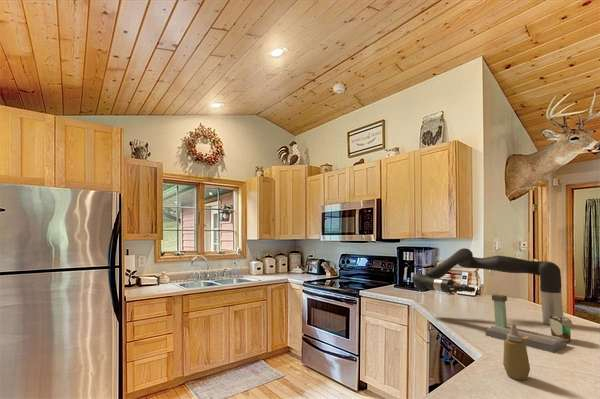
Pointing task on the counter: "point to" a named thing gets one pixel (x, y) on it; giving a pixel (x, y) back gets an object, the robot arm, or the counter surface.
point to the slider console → (530, 338)
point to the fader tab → (500, 310)
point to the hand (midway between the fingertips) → (473, 289)
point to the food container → (560, 327)
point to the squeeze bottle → (515, 356)
